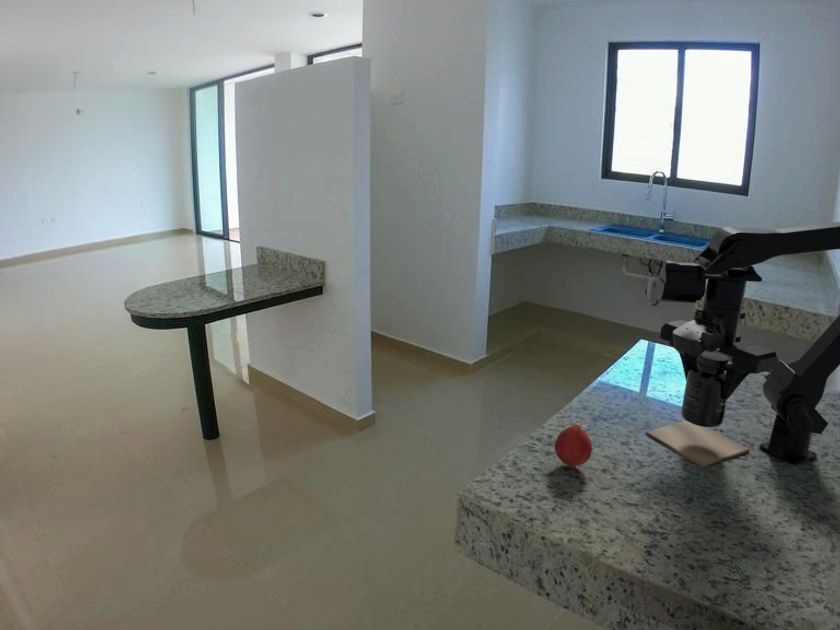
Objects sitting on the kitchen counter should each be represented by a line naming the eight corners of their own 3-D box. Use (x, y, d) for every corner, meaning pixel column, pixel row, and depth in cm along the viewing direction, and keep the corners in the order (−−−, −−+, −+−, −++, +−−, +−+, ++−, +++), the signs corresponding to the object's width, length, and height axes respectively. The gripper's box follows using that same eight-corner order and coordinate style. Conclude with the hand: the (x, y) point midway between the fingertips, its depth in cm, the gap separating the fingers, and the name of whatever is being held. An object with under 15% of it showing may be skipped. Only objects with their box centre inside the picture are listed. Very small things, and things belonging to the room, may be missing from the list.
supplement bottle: (728, 430, 97) (741, 365, 94) (685, 426, 98) (696, 361, 95) (716, 412, 104) (728, 350, 100) (676, 408, 105) (686, 347, 101)
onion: (550, 471, 93) (554, 427, 90) (556, 454, 98) (560, 412, 95) (587, 480, 90) (592, 435, 88) (591, 462, 96) (596, 419, 93)
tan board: (691, 421, 110) (691, 419, 110) (748, 451, 100) (749, 449, 100) (645, 433, 105) (646, 431, 105) (701, 467, 95) (702, 464, 95)
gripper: (643, 296, 99) (631, 378, 104) (741, 327, 83) (723, 423, 88) (688, 289, 104) (675, 368, 109) (789, 318, 88) (769, 410, 93)
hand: (706, 390), depth 99 cm, fingers closed on supplement bottle, 7 cm apart
